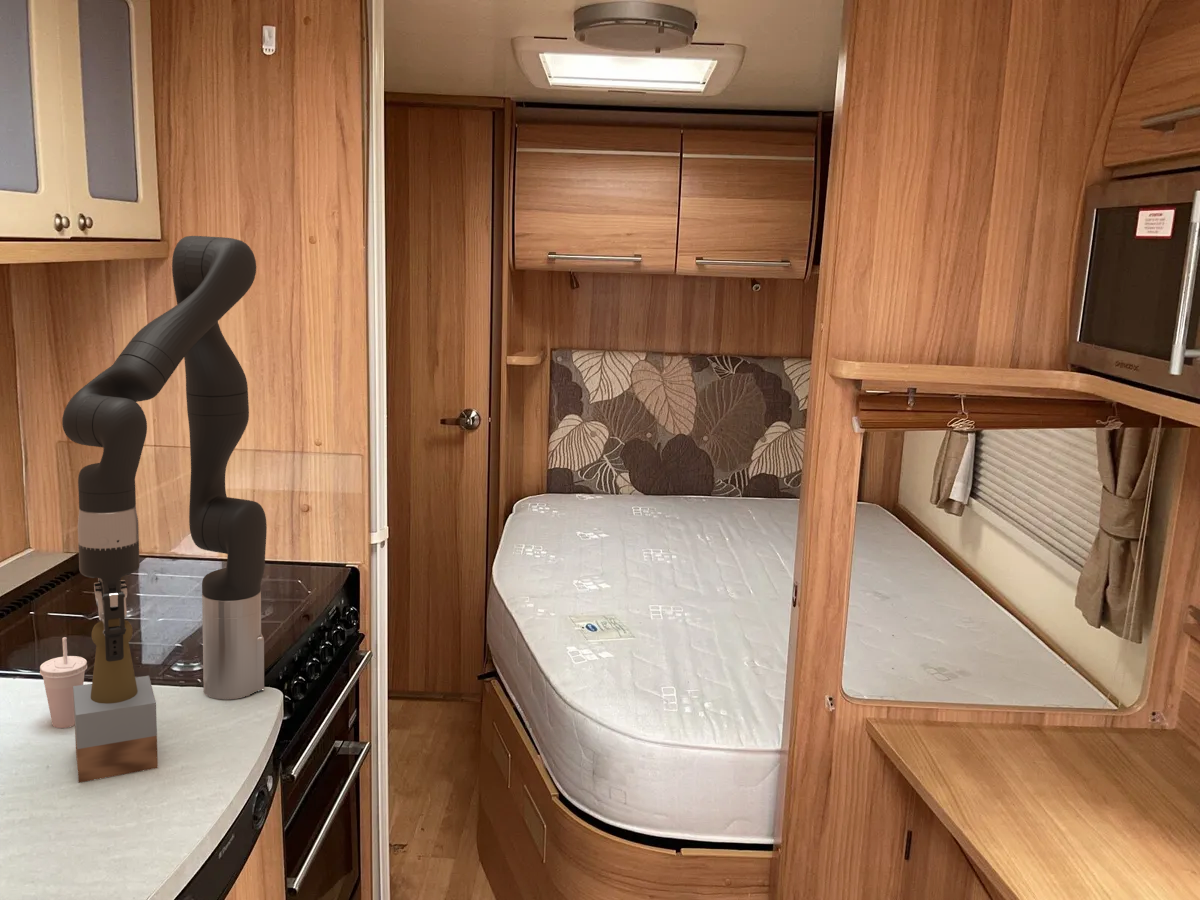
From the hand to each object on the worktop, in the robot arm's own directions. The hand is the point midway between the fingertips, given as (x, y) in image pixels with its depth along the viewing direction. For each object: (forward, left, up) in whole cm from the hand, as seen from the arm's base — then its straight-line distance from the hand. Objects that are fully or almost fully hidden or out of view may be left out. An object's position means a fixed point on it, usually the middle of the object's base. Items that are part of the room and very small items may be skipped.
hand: (112, 648), depth 138 cm
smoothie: (+6, -15, -17) cm, 24 cm away
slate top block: (0, 0, -12) cm, 12 cm away
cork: (0, 0, -7) cm, 7 cm away
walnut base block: (0, 0, -17) cm, 17 cm away
